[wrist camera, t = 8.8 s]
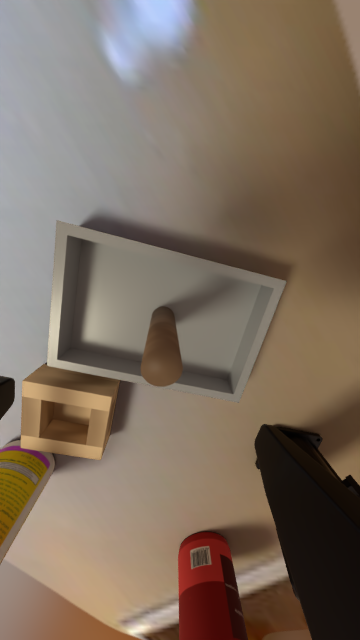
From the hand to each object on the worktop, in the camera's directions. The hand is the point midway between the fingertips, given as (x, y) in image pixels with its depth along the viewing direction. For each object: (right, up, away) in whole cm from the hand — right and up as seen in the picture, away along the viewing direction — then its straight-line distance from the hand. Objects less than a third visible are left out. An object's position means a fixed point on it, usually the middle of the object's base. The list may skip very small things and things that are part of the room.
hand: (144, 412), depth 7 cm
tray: (0, +4, +12) cm, 13 cm away
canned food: (+5, -31, +23) cm, 39 cm away
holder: (-10, -6, +15) cm, 19 cm away
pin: (0, +4, +12) cm, 12 cm away
